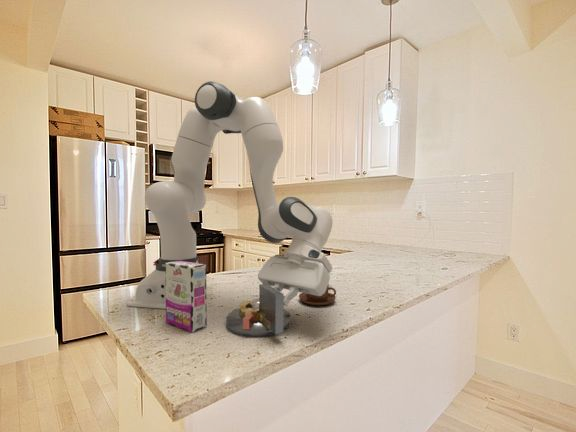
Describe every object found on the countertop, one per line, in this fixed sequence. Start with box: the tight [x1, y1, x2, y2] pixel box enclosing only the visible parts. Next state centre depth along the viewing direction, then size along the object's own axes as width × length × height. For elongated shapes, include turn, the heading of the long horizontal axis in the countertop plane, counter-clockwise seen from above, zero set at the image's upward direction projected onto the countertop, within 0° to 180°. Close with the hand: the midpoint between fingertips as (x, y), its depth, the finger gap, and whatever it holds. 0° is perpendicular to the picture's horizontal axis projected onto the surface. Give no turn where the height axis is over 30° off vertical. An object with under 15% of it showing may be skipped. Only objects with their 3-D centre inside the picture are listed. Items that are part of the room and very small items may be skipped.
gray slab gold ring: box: [238, 283, 285, 335], centre depth 75 cm, size 18×10×9 cm, turn 27°
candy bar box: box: [165, 261, 208, 333], centre depth 78 cm, size 11×5×16 cm, turn 56°
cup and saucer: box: [298, 285, 337, 306], centre depth 97 cm, size 12×12×6 cm
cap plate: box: [225, 298, 291, 338], centre depth 79 cm, size 17×17×6 cm
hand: (278, 303), depth 73 cm, fingers closed
